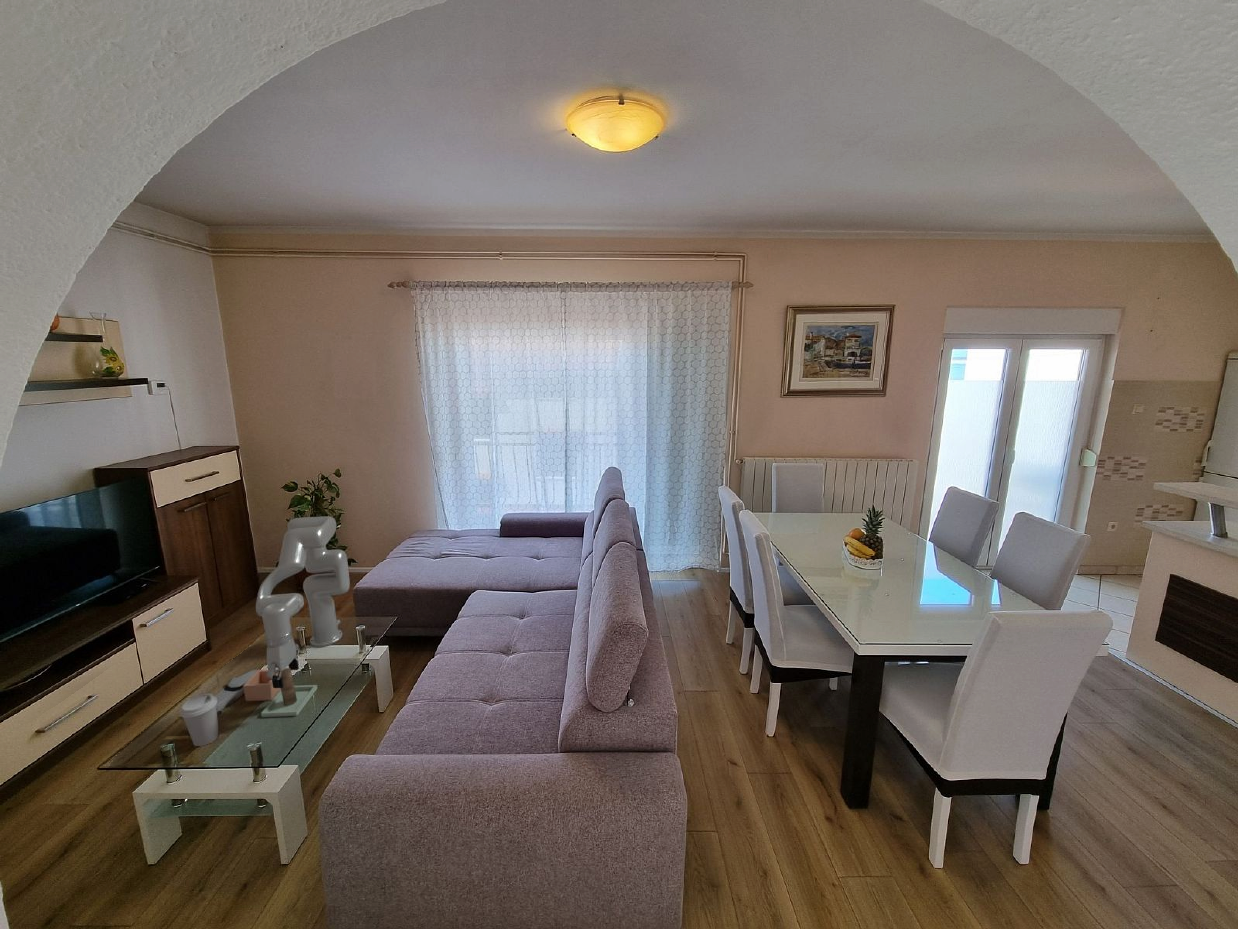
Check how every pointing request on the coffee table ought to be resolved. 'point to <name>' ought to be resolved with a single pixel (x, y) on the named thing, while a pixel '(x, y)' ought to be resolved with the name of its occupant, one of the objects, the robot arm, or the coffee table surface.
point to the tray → (280, 709)
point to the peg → (288, 688)
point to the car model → (232, 690)
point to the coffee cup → (201, 718)
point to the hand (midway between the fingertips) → (286, 678)
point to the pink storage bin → (260, 687)
